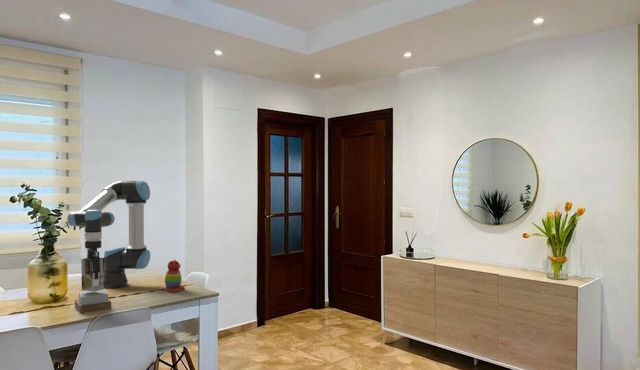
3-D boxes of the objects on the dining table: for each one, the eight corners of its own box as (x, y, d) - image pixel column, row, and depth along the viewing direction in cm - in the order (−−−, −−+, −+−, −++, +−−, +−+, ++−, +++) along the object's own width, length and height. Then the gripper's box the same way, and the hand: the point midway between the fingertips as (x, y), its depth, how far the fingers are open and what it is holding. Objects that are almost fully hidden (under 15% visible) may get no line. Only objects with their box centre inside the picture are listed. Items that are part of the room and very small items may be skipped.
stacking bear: (176, 293, 258) (177, 262, 258) (160, 292, 260) (161, 261, 260) (186, 288, 268) (186, 259, 268) (170, 287, 270) (170, 258, 270)
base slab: (74, 307, 228) (74, 300, 228) (104, 303, 237) (104, 295, 237) (80, 314, 218) (80, 306, 218) (111, 309, 226) (111, 301, 226)
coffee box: (105, 289, 229) (105, 257, 228) (94, 292, 223) (95, 259, 222) (91, 287, 232) (91, 256, 231) (80, 290, 226) (80, 258, 225)
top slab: (78, 299, 229) (79, 292, 229) (104, 296, 236) (104, 289, 236) (81, 305, 219) (81, 297, 219) (108, 302, 226) (108, 294, 225)
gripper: (80, 238, 233) (79, 280, 234) (90, 243, 216) (90, 288, 216) (95, 237, 238) (95, 278, 238) (107, 242, 220) (107, 286, 221)
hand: (93, 283), depth 227 cm, fingers closed on coffee box, 11 cm apart
